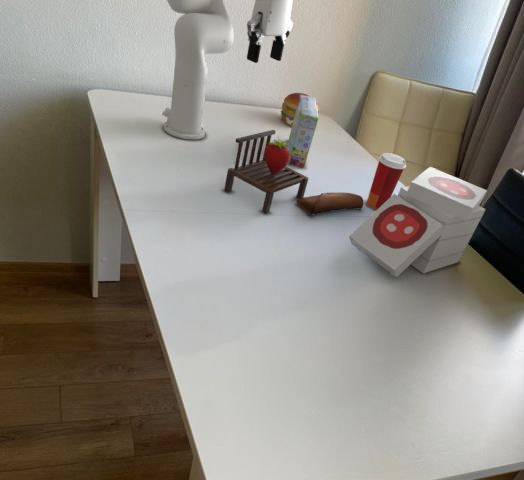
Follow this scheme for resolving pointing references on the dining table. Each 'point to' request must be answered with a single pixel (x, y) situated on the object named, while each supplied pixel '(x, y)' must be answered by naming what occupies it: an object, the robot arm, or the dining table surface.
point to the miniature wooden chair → (263, 171)
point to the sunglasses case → (330, 202)
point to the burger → (291, 107)
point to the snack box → (302, 130)
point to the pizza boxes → (422, 224)
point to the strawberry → (276, 156)
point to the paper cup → (385, 179)
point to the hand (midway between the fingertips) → (263, 60)
